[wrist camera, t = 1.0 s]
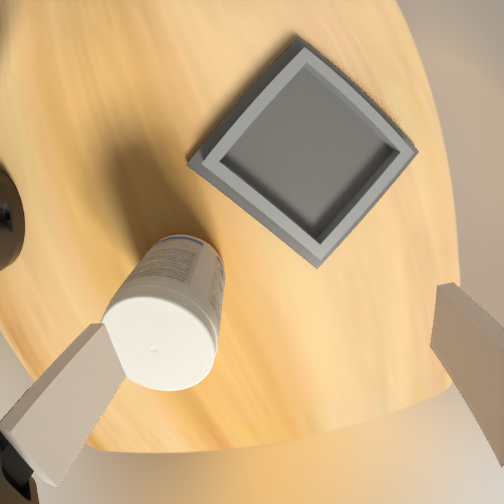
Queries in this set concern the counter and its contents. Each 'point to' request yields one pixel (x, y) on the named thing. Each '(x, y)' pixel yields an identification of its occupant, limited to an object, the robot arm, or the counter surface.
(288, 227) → the board
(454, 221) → the counter surface
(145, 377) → the supplement tub
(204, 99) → the counter surface
